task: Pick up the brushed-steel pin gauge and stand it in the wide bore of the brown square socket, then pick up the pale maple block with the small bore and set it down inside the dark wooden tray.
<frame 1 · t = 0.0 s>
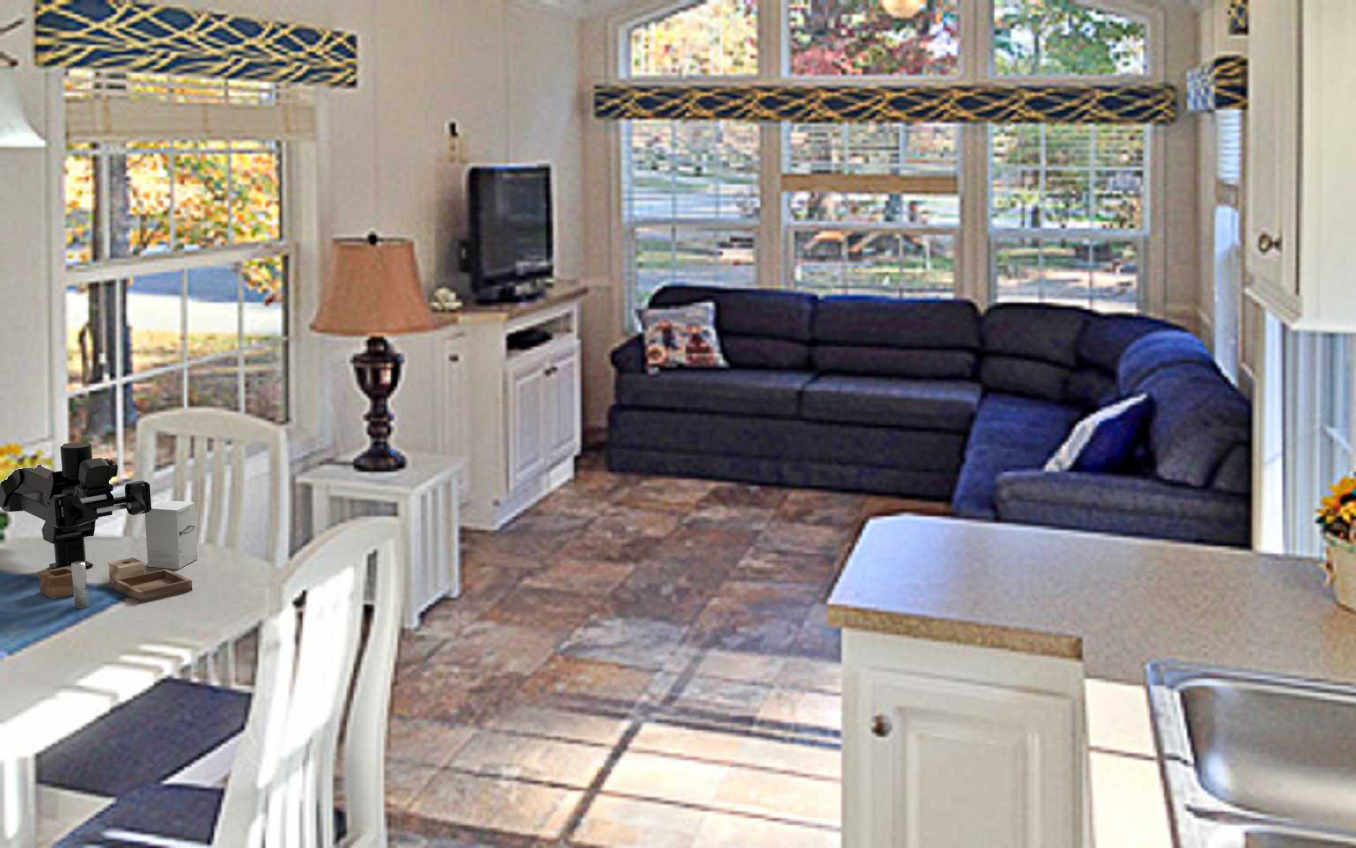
hand: (121, 511, 256), 17 cm above the table, tool horizontal, fingers open, 9 cm apart
supplement box: (173, 564, 280), on the table
brown square socket: (62, 592, 260), on the table
tray: (153, 590, 262), on the table
maple block: (127, 581, 268), on the table
pin gauge: (81, 606, 252), on the table
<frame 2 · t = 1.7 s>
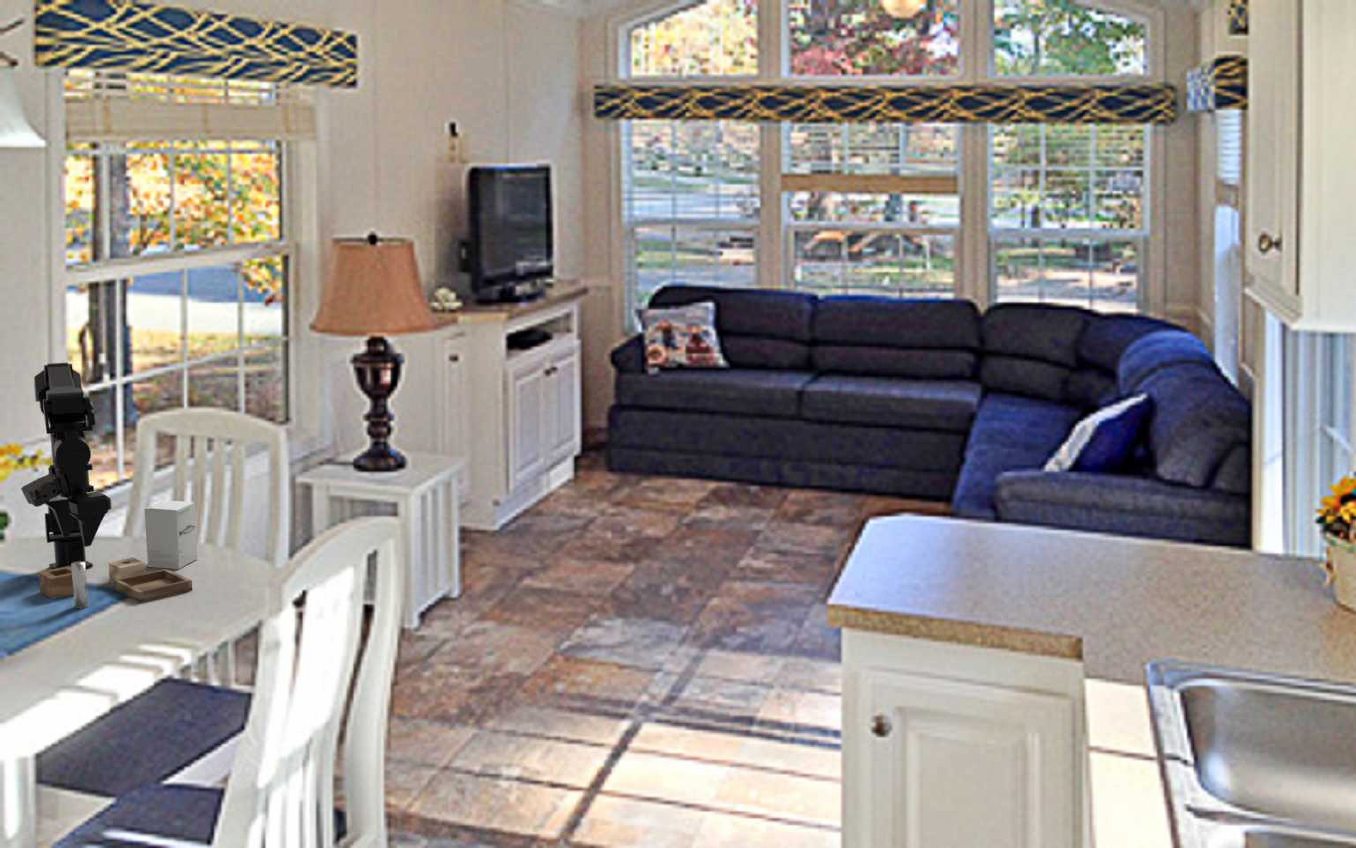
hand: (76, 541, 250), 13 cm above the table, tool pointing down, fingers open, 9 cm apart
nothing on the table moved.
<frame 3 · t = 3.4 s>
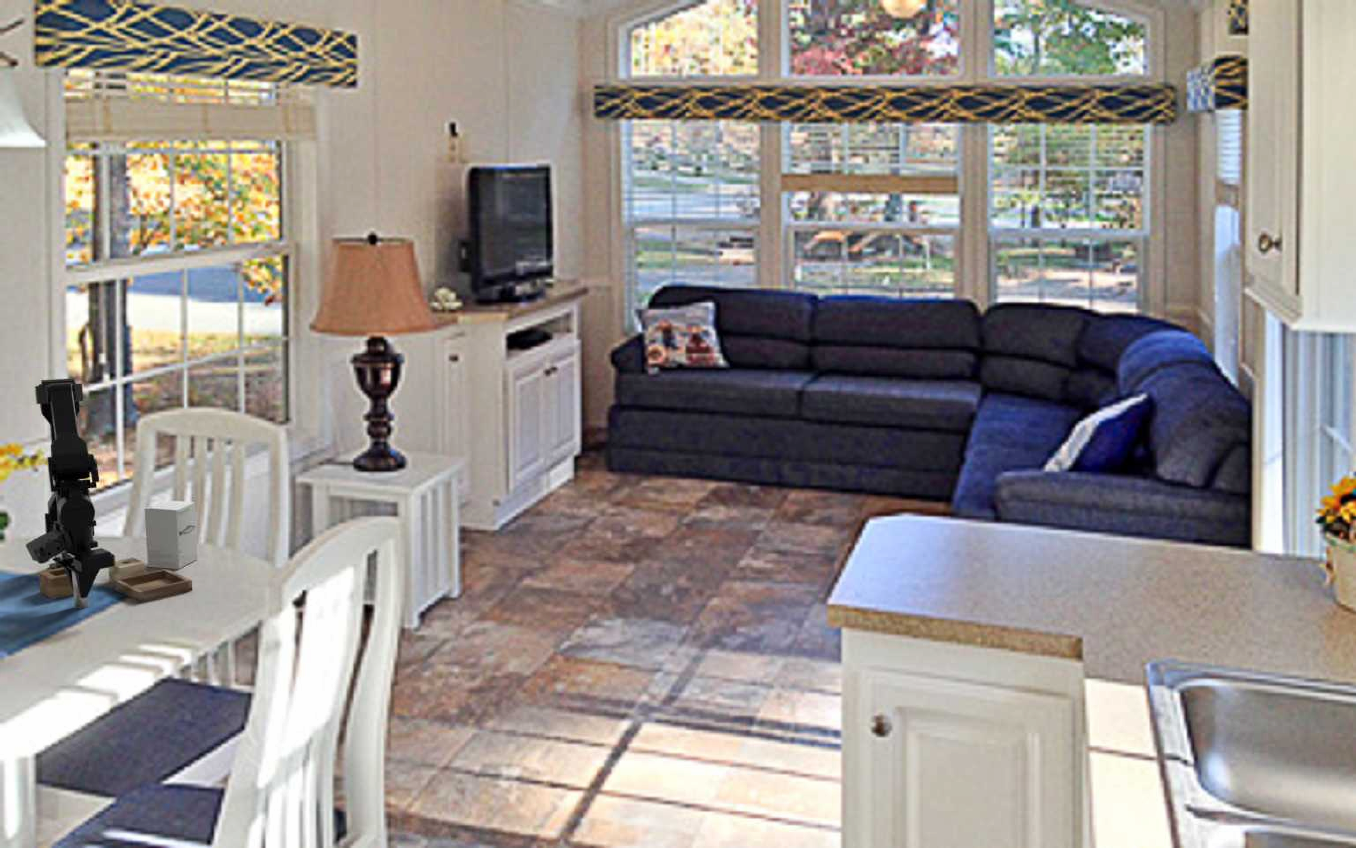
hand: (80, 596, 252), 2 cm above the table, tool pointing down, fingers closed on pin gauge, 2 cm apart
pin gauge: (81, 606, 252), on the table, touching gripper
everything else where it was.
when the fingers open (5 cm above the table, at t = 6.7 s): pin gauge drops 3 cm, resting in brown square socket.
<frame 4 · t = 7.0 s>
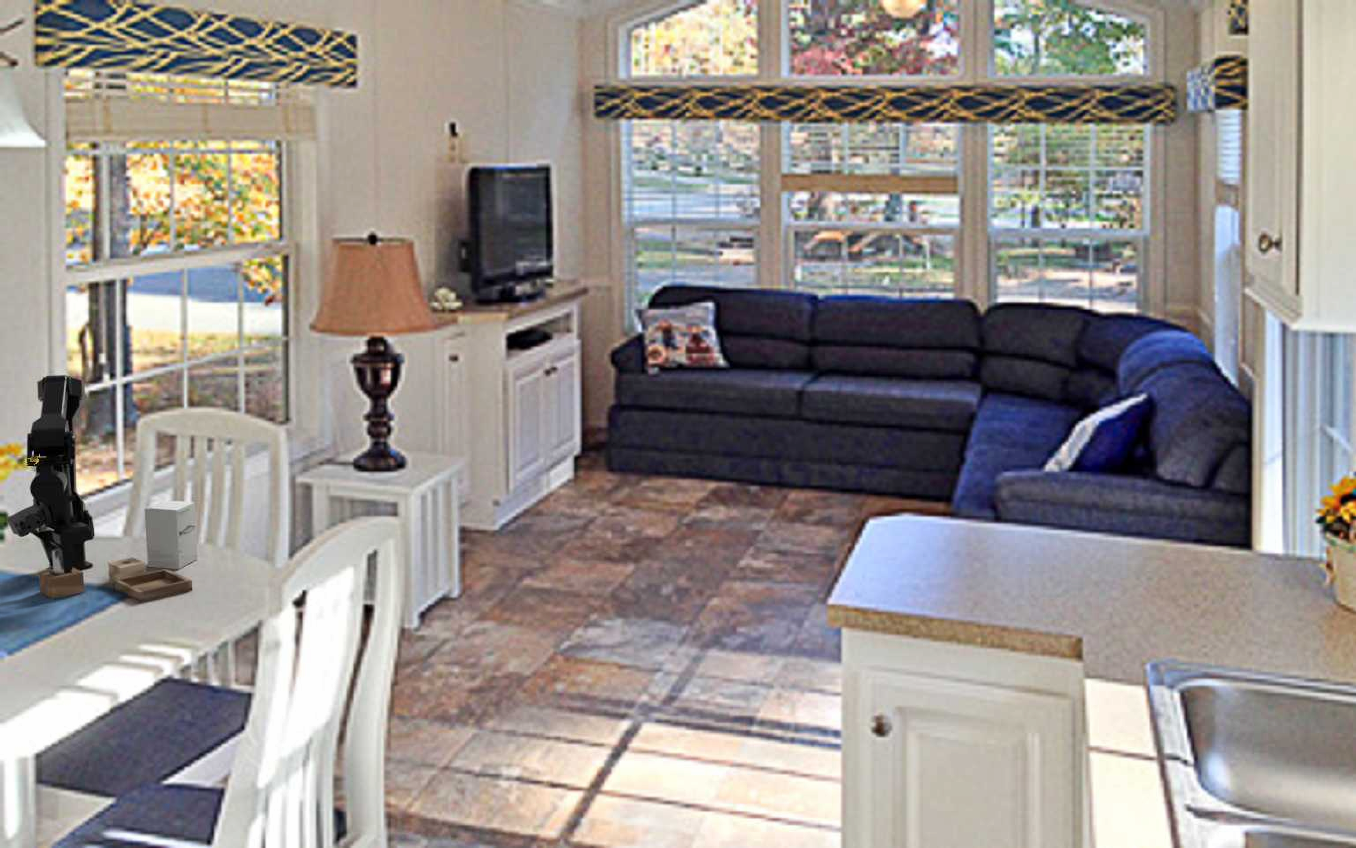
hand: (60, 569, 260), 5 cm above the table, tool pointing down, fingers open, 6 cm apart
pin gauge: (62, 592, 260), resting in brown square socket
everything else where it was.
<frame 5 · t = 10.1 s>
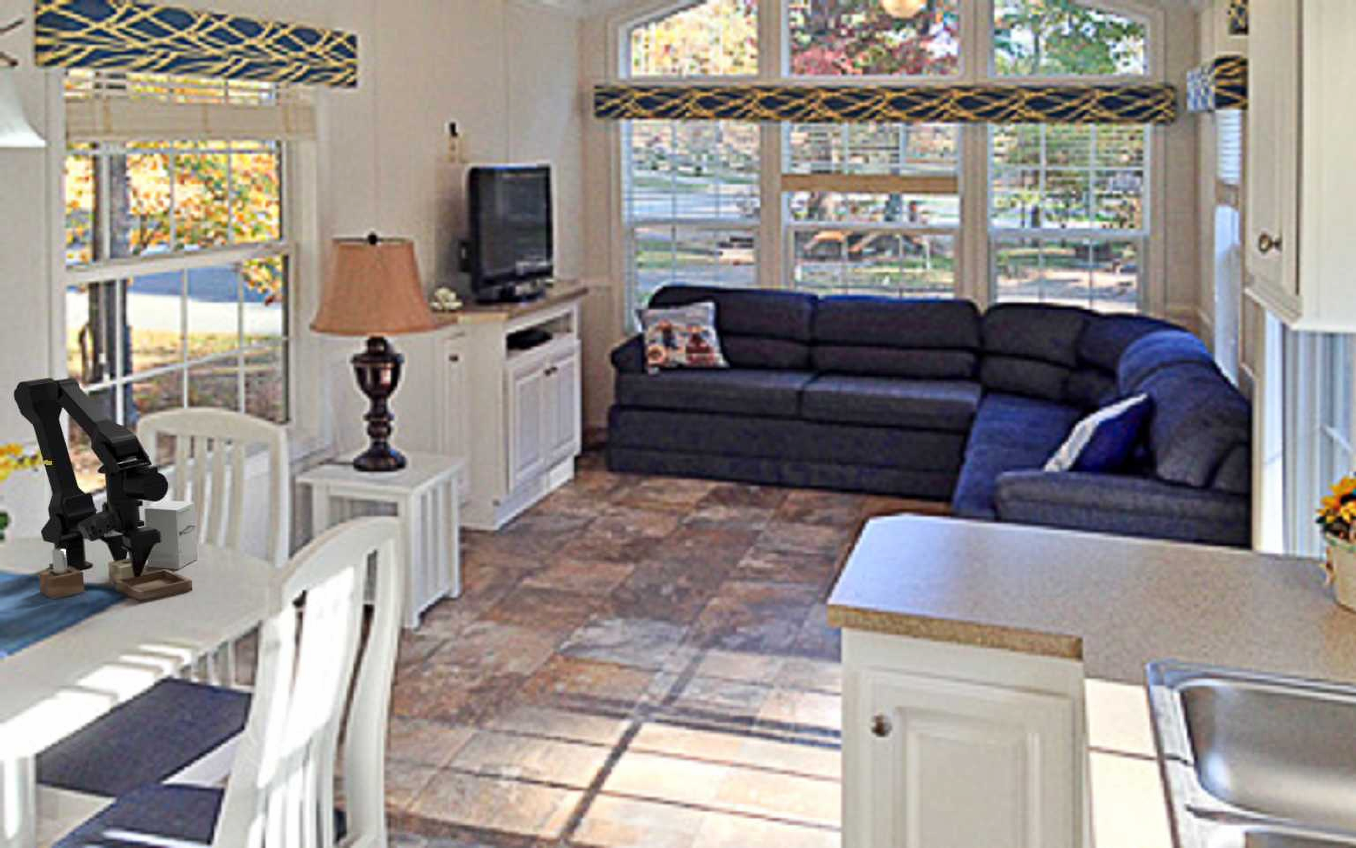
hand: (128, 573, 267), 2 cm above the table, tool pointing down, fingers open, 7 cm apart
nothing on the table moved.
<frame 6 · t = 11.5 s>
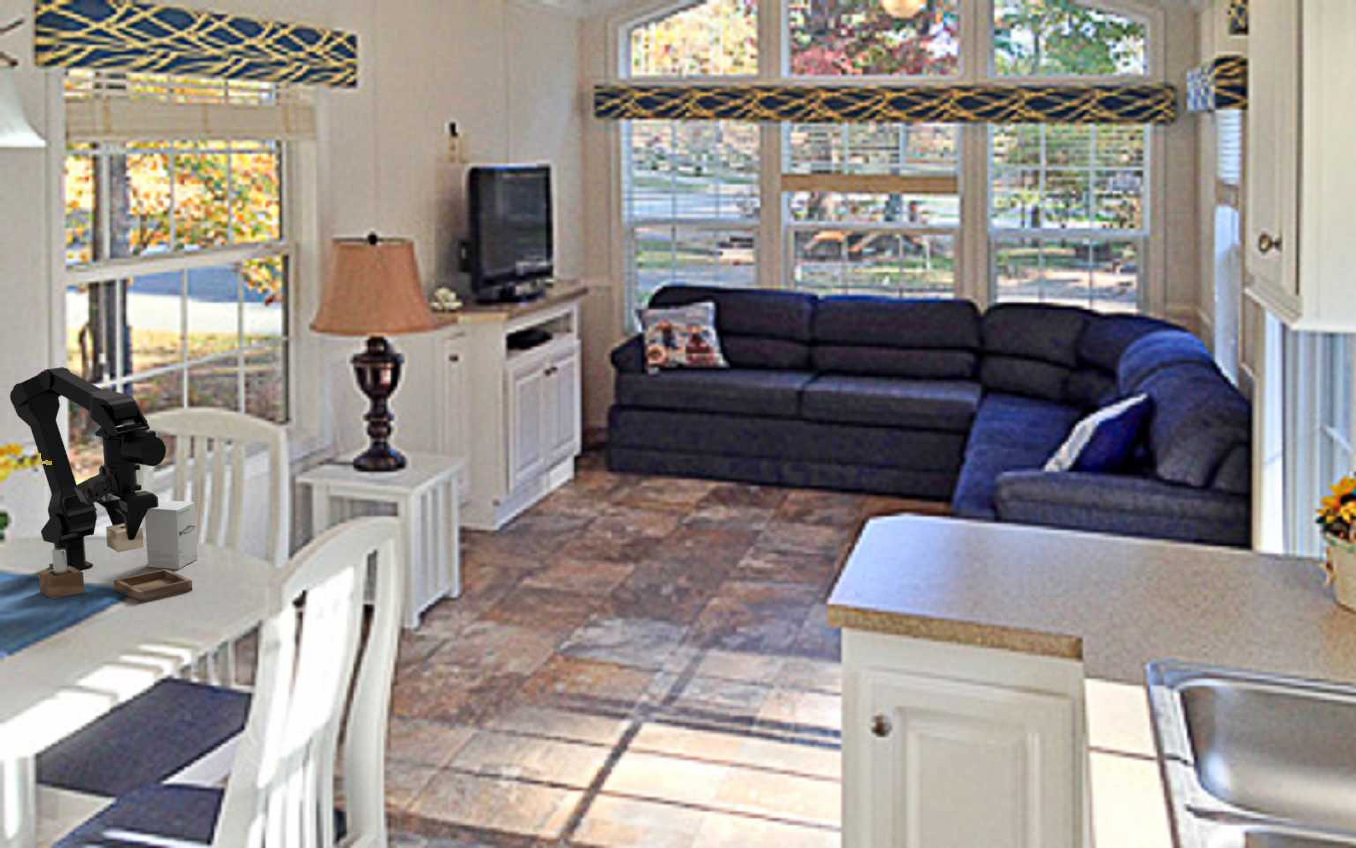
hand: (125, 537, 266), 9 cm above the table, tool pointing down, fingers closed on maple block, 5 cm apart
maple block: (125, 546, 266), point 7 cm above the table, touching gripper
everything else where it was.
when the fingers open (3 cm above the table, at t = 14.2 s): maple block stays where it is, resting on tray.
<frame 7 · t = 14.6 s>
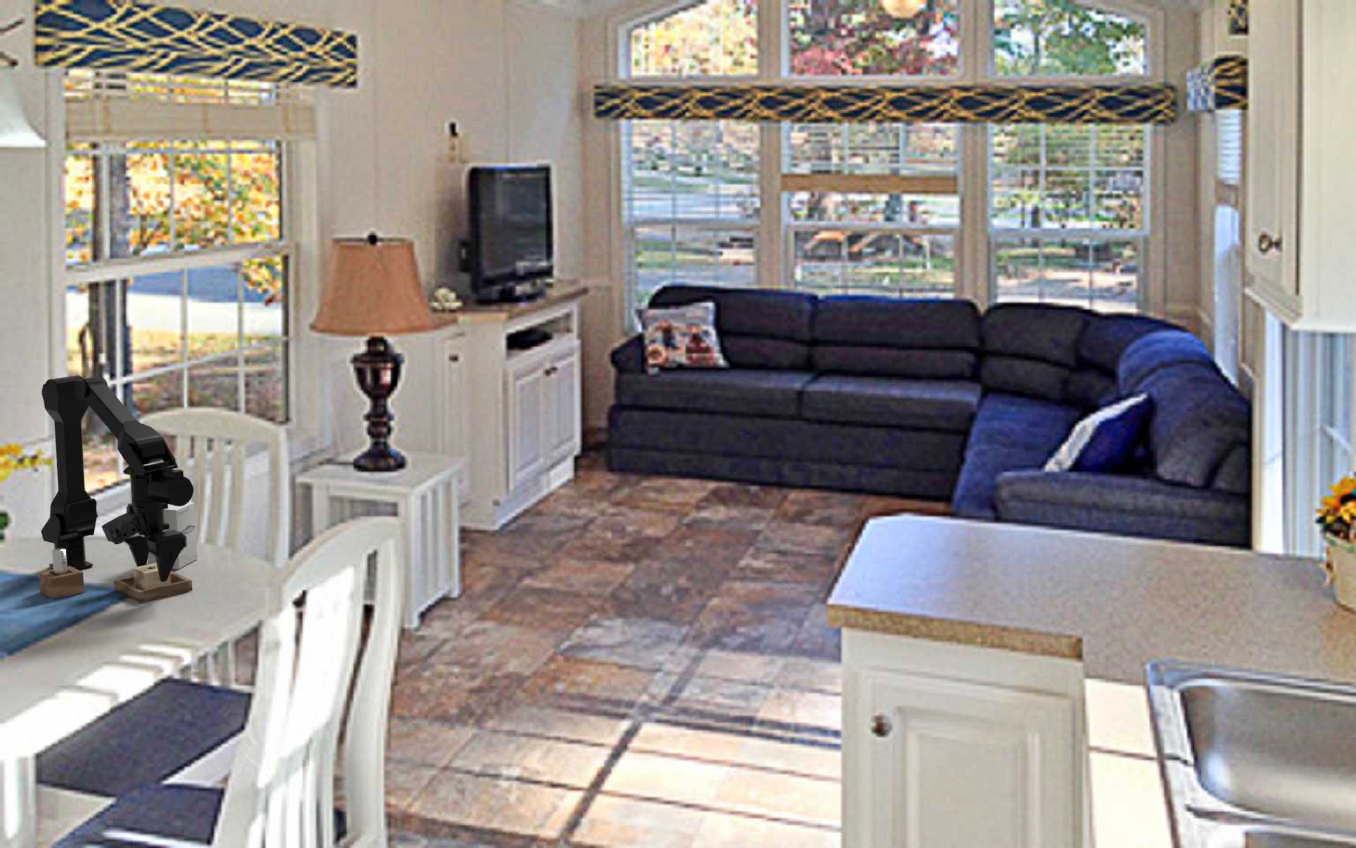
hand: (152, 576, 262), 3 cm above the table, tool pointing down, fingers open, 9 cm apart
maple block: (152, 587, 262), resting on tray
everything else where it was.
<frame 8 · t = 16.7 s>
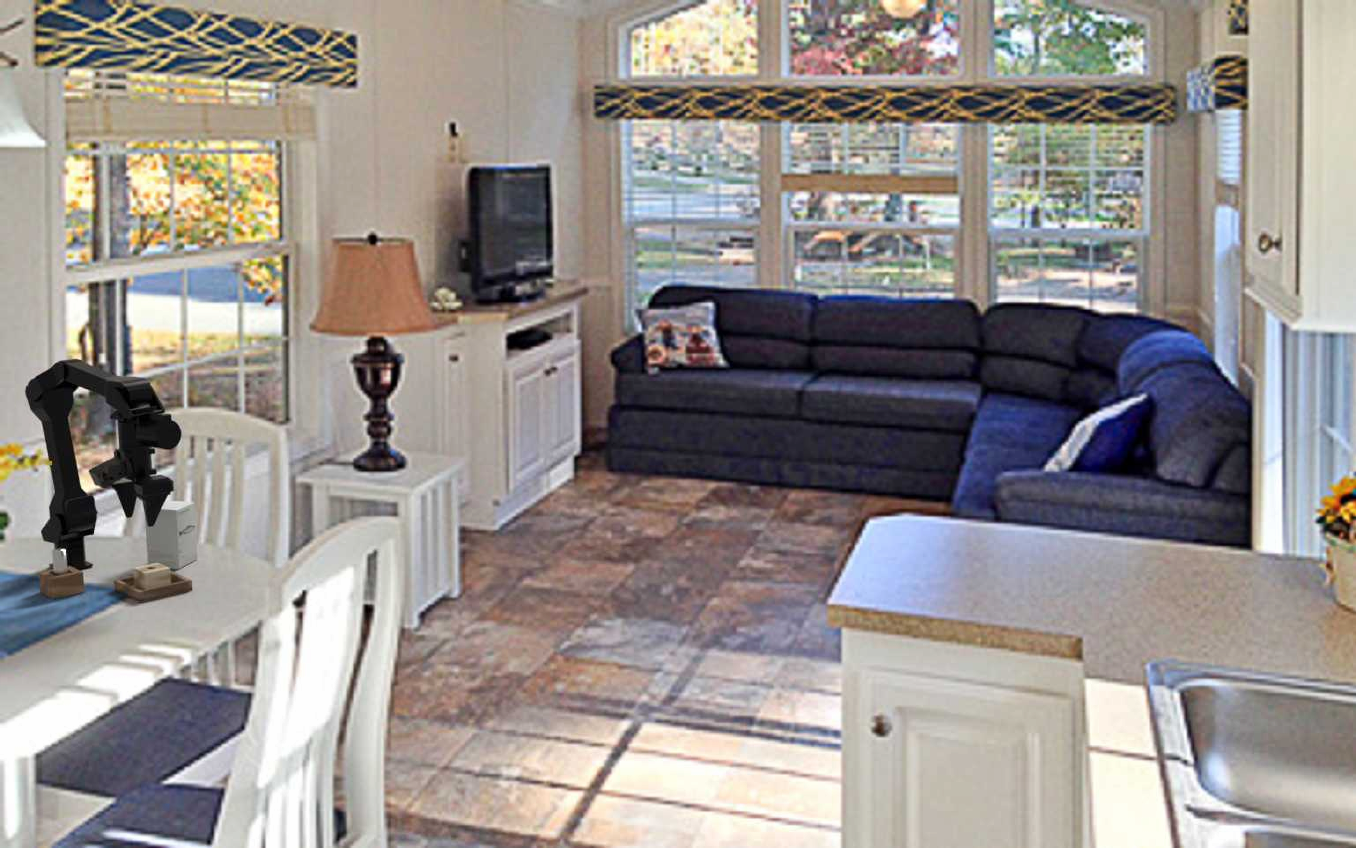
hand: (139, 521, 262), 13 cm above the table, tool pointing down, fingers open, 9 cm apart
nothing on the table moved.
at the end: maple block inside the target area (0.1 cm from its centre), point 0.5 cm above the table; pin gauge 0.0 cm from the brown square socket (horizontally); pin gauge tilted 0° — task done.
